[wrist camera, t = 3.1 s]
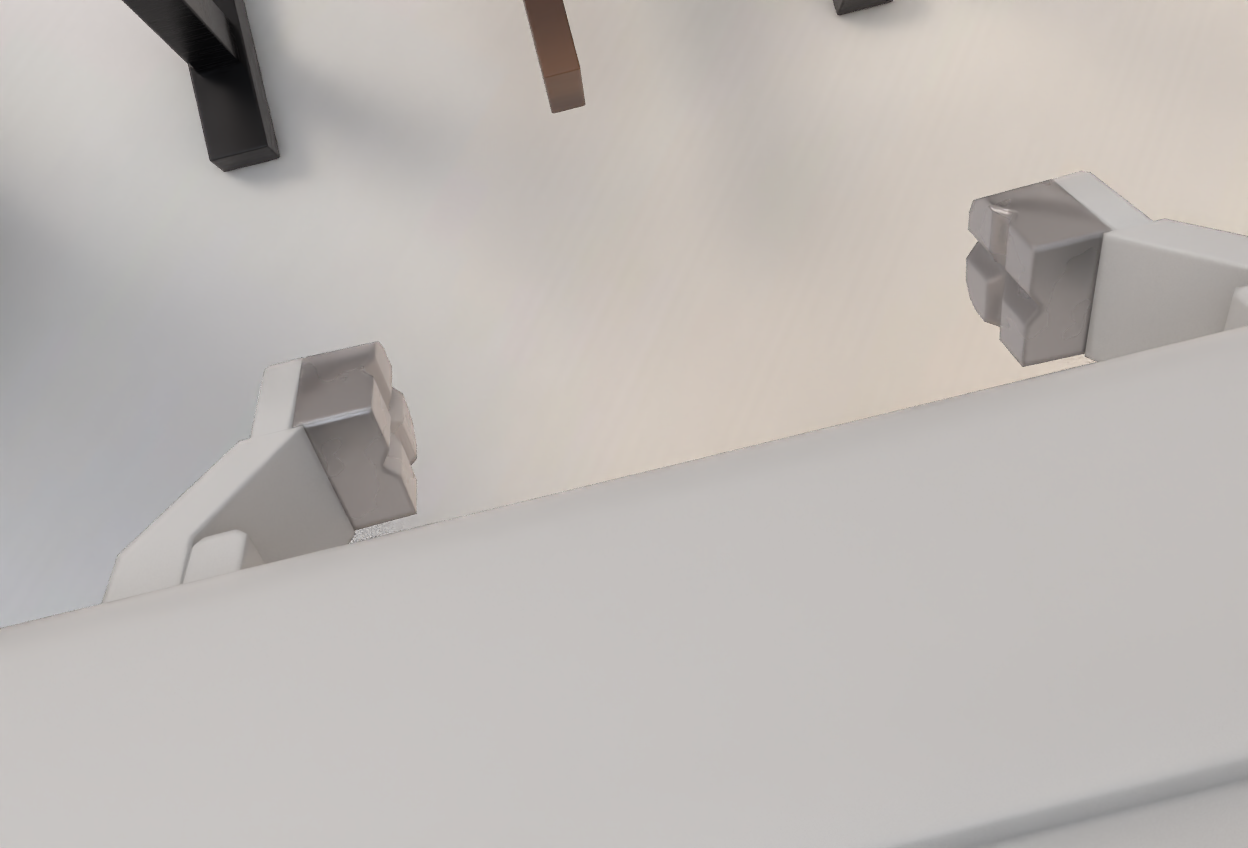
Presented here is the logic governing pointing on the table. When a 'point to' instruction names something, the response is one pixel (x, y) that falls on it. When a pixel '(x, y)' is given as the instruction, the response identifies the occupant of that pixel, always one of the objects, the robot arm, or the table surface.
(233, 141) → the rail
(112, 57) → the table surface
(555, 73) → the hanger
